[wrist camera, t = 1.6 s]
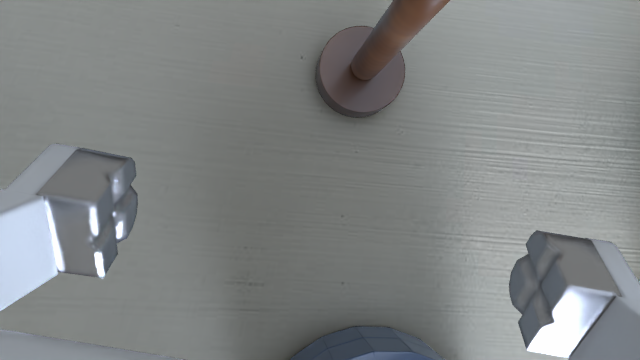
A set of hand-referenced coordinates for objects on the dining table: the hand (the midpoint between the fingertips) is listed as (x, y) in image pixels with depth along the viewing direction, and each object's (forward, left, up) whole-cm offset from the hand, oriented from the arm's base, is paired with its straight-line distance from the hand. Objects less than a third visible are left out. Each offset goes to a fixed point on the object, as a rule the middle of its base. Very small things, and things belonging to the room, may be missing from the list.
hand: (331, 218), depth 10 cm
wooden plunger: (+2, +10, -23) cm, 25 cm away
